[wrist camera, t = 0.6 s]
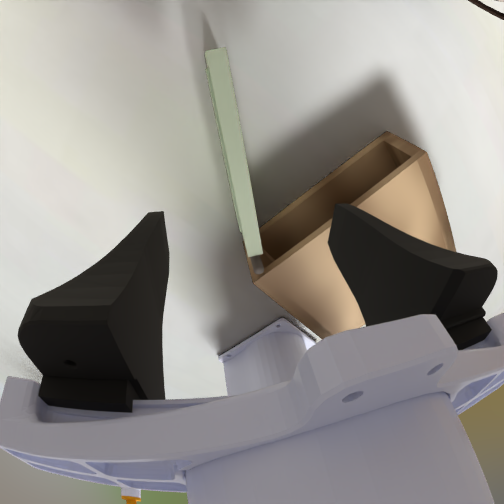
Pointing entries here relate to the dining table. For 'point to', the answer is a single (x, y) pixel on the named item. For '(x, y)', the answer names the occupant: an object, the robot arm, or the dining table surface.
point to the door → (233, 146)
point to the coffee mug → (489, 8)
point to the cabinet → (319, 223)
